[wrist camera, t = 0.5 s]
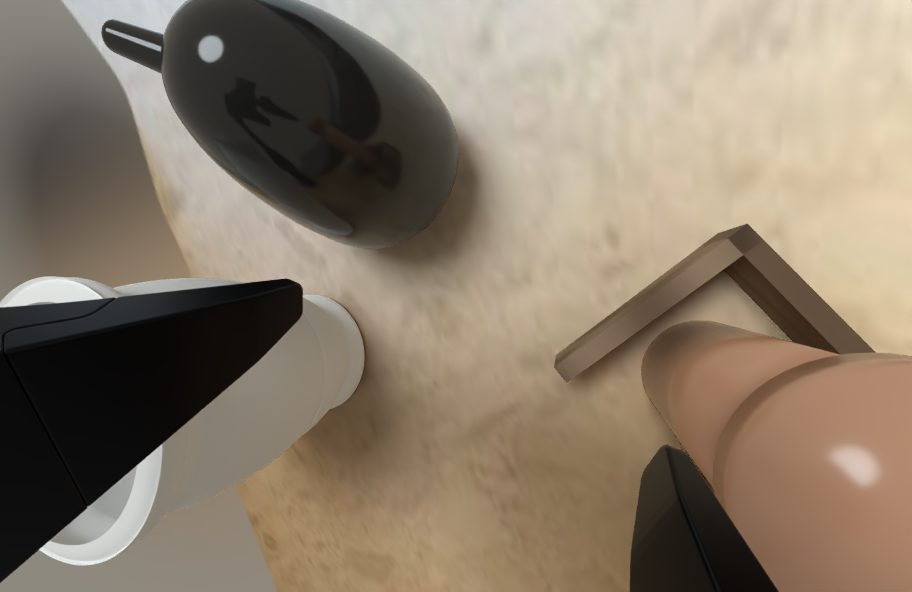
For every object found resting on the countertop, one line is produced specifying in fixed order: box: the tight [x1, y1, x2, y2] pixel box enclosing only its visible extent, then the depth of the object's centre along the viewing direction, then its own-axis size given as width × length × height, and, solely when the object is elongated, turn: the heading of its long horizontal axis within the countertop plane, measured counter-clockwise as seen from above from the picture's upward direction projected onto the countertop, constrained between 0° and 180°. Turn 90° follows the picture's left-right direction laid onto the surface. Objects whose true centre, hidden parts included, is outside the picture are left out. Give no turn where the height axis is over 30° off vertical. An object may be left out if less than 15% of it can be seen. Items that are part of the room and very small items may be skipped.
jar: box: [0, 276, 364, 565], centre depth 21 cm, size 11×10×15 cm
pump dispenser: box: [101, 0, 458, 249], centre depth 18 cm, size 10×10×15 cm
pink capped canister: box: [641, 321, 912, 592], centre depth 14 cm, size 7×7×14 cm
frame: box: [554, 224, 876, 493], centre depth 19 cm, size 11×11×4 cm
